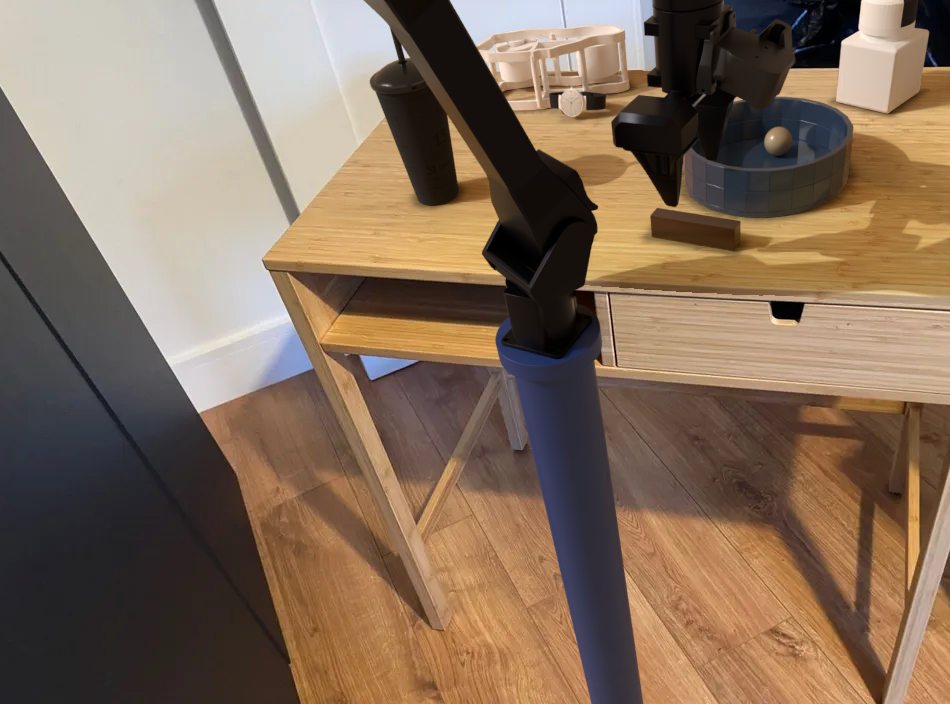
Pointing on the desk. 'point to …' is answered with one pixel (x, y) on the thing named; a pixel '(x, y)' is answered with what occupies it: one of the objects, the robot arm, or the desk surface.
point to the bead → (778, 141)
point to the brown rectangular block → (695, 229)
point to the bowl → (773, 160)
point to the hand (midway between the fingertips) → (692, 182)
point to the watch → (577, 101)
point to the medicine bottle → (882, 57)
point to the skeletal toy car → (557, 60)
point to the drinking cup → (417, 129)
